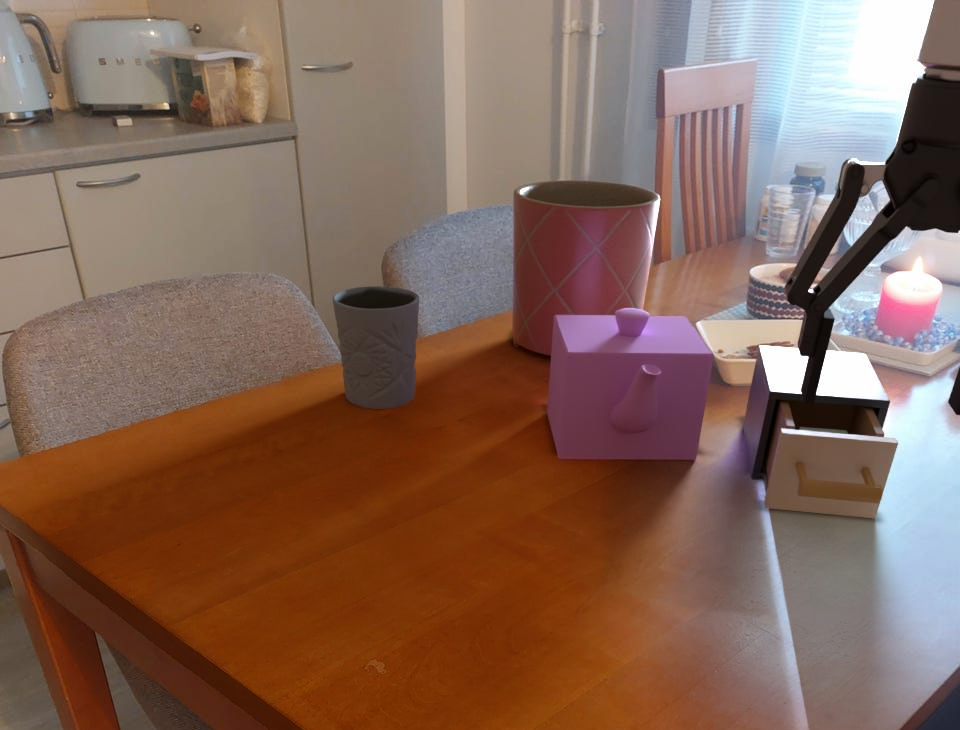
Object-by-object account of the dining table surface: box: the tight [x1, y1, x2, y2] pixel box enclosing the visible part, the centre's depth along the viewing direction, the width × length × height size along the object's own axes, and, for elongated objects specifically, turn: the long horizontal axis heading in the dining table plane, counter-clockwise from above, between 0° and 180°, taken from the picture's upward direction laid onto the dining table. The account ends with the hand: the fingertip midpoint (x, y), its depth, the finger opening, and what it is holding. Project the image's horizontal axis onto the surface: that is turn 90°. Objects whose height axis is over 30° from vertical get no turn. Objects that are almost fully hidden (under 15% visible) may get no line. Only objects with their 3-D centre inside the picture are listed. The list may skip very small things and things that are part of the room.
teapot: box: [546, 308, 715, 461], centre depth 101 cm, size 15×25×14 cm, turn 2°
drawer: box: [763, 399, 899, 519], centre depth 90 cm, size 19×10×8 cm, turn 170°
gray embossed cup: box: [332, 285, 420, 410], centre depth 111 cm, size 10×10×12 cm
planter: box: [511, 179, 661, 357], centre depth 126 cm, size 19×19×20 cm
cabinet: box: [742, 345, 891, 481], centre depth 100 cm, size 15×12×10 cm
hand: (881, 402), depth 73 cm, fingers open, 11 cm apart
